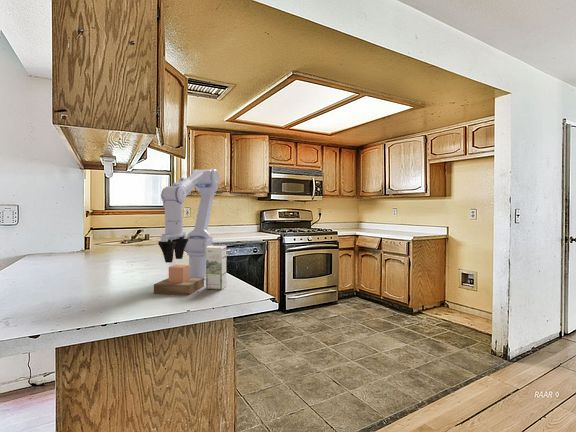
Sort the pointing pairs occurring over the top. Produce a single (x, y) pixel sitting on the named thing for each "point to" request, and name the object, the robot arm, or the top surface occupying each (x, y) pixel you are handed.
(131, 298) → the top surface
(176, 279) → the cube
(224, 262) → the syrup box
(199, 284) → the walnut base
